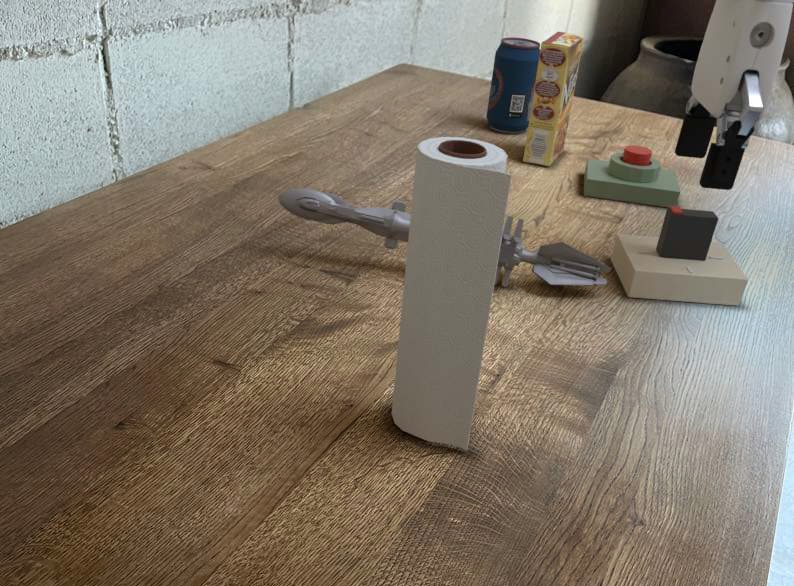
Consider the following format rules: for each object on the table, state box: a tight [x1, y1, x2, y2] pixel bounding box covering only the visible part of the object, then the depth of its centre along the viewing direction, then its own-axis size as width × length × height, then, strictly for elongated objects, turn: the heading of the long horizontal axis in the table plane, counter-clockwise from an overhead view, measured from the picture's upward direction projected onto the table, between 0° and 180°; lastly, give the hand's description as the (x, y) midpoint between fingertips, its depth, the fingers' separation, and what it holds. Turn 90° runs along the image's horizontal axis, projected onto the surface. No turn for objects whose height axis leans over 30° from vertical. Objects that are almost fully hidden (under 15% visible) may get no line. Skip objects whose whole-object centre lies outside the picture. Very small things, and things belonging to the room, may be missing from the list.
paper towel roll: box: [391, 136, 513, 452], centre depth 67 cm, size 7×6×21 cm
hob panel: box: [610, 233, 749, 307], centre depth 100 cm, size 12×10×3 cm
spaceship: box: [278, 187, 612, 288], centre depth 95 cm, size 8×35×8 cm
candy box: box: [522, 31, 585, 167], centre depth 127 cm, size 9×4×15 cm, turn 159°
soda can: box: [486, 37, 541, 135], centre depth 138 cm, size 7×7×12 cm
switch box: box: [583, 152, 681, 209], centre depth 122 cm, size 12×9×4 cm
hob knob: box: [656, 205, 719, 260], centre depth 97 cm, size 5×2×5 cm, turn 90°
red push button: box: [622, 145, 653, 166], centre depth 121 cm, size 4×4×2 cm
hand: (701, 171), depth 93 cm, fingers open, 9 cm apart
